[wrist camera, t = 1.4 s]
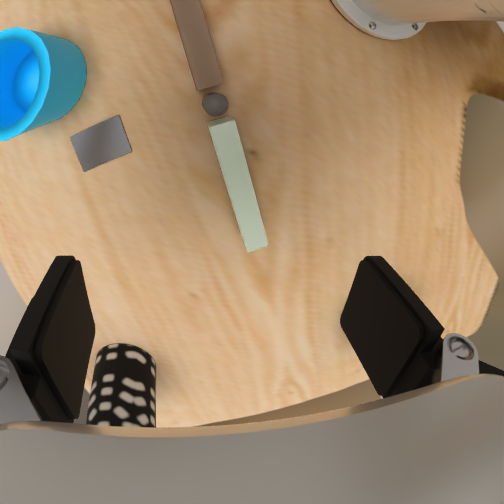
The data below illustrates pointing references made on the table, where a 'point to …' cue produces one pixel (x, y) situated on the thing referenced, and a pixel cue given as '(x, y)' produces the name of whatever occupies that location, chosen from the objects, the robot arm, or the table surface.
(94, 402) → the white-spotted black cylinder
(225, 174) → the leg
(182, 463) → the robot arm
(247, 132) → the table surface
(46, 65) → the mug
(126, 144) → the dock
